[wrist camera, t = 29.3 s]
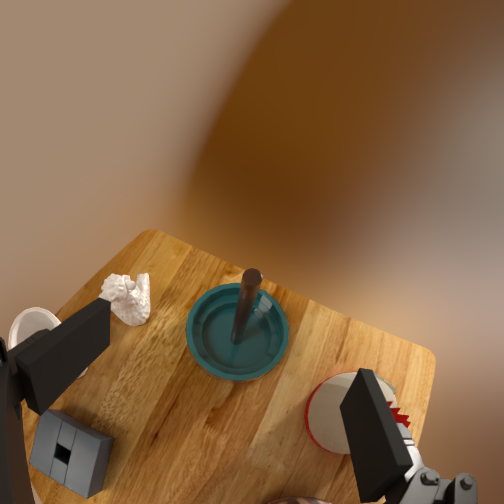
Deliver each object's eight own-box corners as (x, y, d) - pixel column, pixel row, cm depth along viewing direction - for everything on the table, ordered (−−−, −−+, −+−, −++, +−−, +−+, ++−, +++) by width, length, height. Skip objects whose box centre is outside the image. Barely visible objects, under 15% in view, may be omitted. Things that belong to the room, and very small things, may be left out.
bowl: (170, 339, 44) (164, 329, 39) (232, 282, 51) (235, 265, 46) (238, 403, 40) (242, 401, 35) (297, 337, 47) (308, 326, 42)
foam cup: (92, 330, 43) (58, 301, 32) (102, 383, 38) (65, 370, 27) (47, 339, 40) (7, 313, 29) (54, 391, 36) (10, 377, 25)
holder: (47, 461, 29) (29, 463, 24) (60, 410, 34) (42, 407, 29) (101, 491, 28) (87, 499, 23) (114, 438, 34) (101, 440, 29)
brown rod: (227, 339, 45) (238, 277, 26) (235, 331, 46) (251, 264, 27) (236, 347, 44) (253, 290, 26) (244, 339, 45) (266, 276, 26)
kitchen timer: (347, 467, 35) (397, 480, 23) (287, 420, 39) (319, 422, 27) (394, 403, 42) (450, 391, 29) (340, 358, 46) (385, 332, 33)
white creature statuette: (148, 274, 50) (133, 235, 39) (169, 314, 46) (156, 284, 36) (102, 297, 46) (76, 263, 36) (120, 340, 43) (93, 315, 33)
